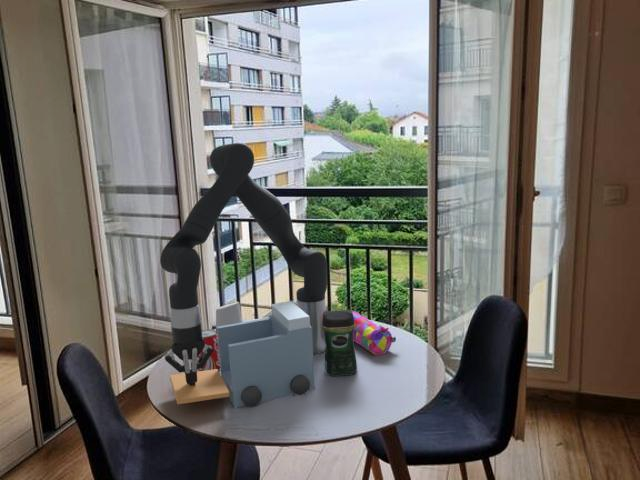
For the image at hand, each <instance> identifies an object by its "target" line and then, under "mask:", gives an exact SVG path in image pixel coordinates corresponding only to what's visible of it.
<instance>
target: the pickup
mask: <svg viewBox="0 0 640 480" xmlns="http://www.w3.org/2000/svg"><path fill="white" fill-rule="evenodd" d="M291 301H292V300H287V301H283V302H277V303H271V313H268V314H269V317H265V318H258V319H253V320H247V321H242V322H241V323H235V324H230V325H224V326H218V327H217V336H218V347H219V358H220V369H219V370H220V375H221V377H222V379H223V381H224V383H225V385H226V387H227V388H228V390H229V397H228V398H229V400H230V402H231V404H232V405H233V408H234V409H237V408H241V407H248V408H253V407H256V406H258V405H259V404H260V403H263V402H266V401H271V400H274V399H279V398H284V397H287V396H291V395H296V396H303V395H305V394H307V392H309V391H312V390H315V389H316V388H315V387H316V386H315V385H316V384H315V382H316V381H315V365H314V362H315V361H314V354H313V342H312V327H311V326H310V316H309V315H307V314H306V313H305V312H304V311H302V310H301V309H300V308H299V307H298V306H296V305H295V304H296V303H295V304H294V301H293V302H291Z"/></svg>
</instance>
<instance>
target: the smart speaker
mask: <svg viewBox="0 0 640 480" xmlns="http://www.w3.org/2000/svg"><path fill="white" fill-rule="evenodd" d="M241 322H243V317H242V312H241V305H240V302H239V301H237V302H232V303H228V304H225V305H222V306H219V307H217V308H215V331H216V334H217V327H218V326H224V325H230V324H235V323H241Z"/></svg>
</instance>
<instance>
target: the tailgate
mask: <svg viewBox="0 0 640 480" xmlns="http://www.w3.org/2000/svg"><path fill="white" fill-rule="evenodd" d="M169 380H170V383H171V386H172V389H173V390H172V391H173V392H174V397H175V400H176V403H177V405H182V404H190V403H195V402H201V401H209V400H215V399H222V398H229V390H228V388H227V387H226V385H225V383H224V381H223V379H222V377H221V372H220V371H219V370H218V369H213V370H205V371H199V370H197V382H196V383H195V385H192V386H189V384H187V382H186V378H185V372H181V373H177V374H170V375H169Z"/></svg>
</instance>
